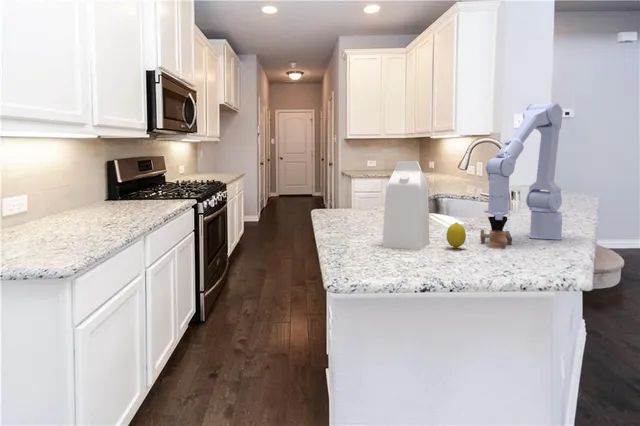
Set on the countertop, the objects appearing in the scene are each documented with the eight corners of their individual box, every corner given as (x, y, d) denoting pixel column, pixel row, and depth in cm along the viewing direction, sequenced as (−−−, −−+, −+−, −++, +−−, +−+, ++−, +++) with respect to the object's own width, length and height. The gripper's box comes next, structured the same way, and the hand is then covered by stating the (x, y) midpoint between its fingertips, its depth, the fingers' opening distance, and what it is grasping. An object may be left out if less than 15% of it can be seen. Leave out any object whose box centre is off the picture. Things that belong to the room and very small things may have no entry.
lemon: (466, 251, 142) (467, 224, 141) (446, 250, 143) (447, 223, 142) (464, 247, 147) (465, 221, 146) (445, 246, 148) (446, 220, 147)
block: (504, 245, 150) (505, 230, 149) (505, 248, 145) (505, 233, 145) (489, 244, 151) (489, 230, 150) (489, 247, 147) (490, 232, 146)
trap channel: (508, 235, 165) (508, 230, 165) (511, 244, 150) (512, 238, 150) (480, 234, 168) (480, 229, 167) (481, 243, 153) (481, 236, 153)
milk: (429, 243, 154) (431, 161, 150) (420, 250, 144) (423, 162, 140) (392, 240, 159) (394, 160, 155) (382, 246, 149) (383, 161, 145)
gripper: (484, 193, 158) (482, 234, 160) (485, 198, 144) (483, 243, 146) (507, 194, 156) (505, 235, 158) (510, 199, 142) (508, 244, 144)
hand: (496, 239), depth 152 cm, fingers closed
